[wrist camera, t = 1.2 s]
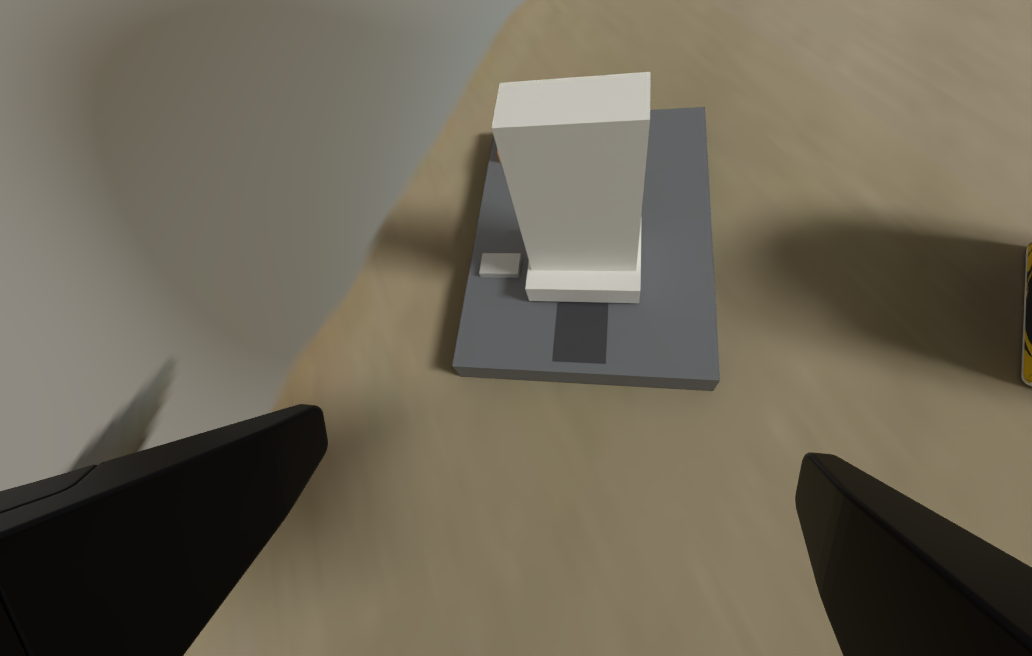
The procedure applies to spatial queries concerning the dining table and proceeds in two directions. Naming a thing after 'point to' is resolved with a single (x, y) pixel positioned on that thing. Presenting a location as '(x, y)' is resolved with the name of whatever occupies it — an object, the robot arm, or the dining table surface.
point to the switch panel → (595, 325)
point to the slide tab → (577, 182)
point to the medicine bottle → (1027, 321)
